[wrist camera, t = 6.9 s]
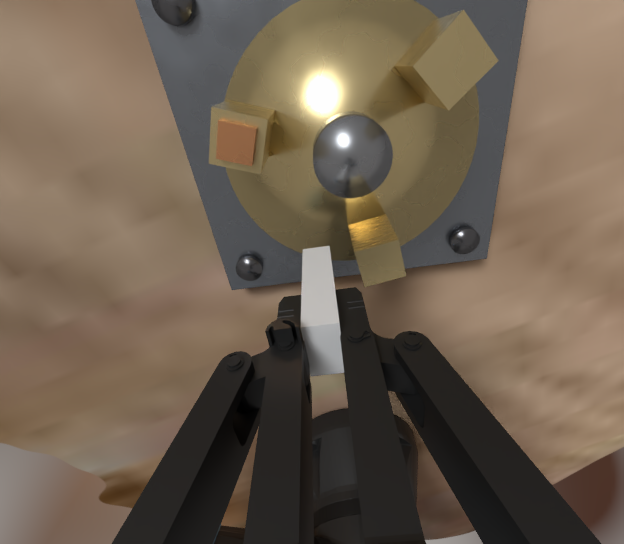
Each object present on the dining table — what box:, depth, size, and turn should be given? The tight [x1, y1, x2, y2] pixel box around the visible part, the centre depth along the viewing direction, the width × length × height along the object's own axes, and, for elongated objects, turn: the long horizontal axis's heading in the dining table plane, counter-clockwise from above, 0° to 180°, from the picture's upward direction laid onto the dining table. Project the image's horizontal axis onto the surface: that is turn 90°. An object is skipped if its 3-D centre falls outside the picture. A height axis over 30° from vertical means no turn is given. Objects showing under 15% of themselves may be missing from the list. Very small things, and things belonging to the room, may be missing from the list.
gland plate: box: [135, 0, 527, 290], centre depth 21 cm, size 20×20×3 cm
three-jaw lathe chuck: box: [209, 0, 499, 287], centre depth 18 cm, size 14×14×6 cm
